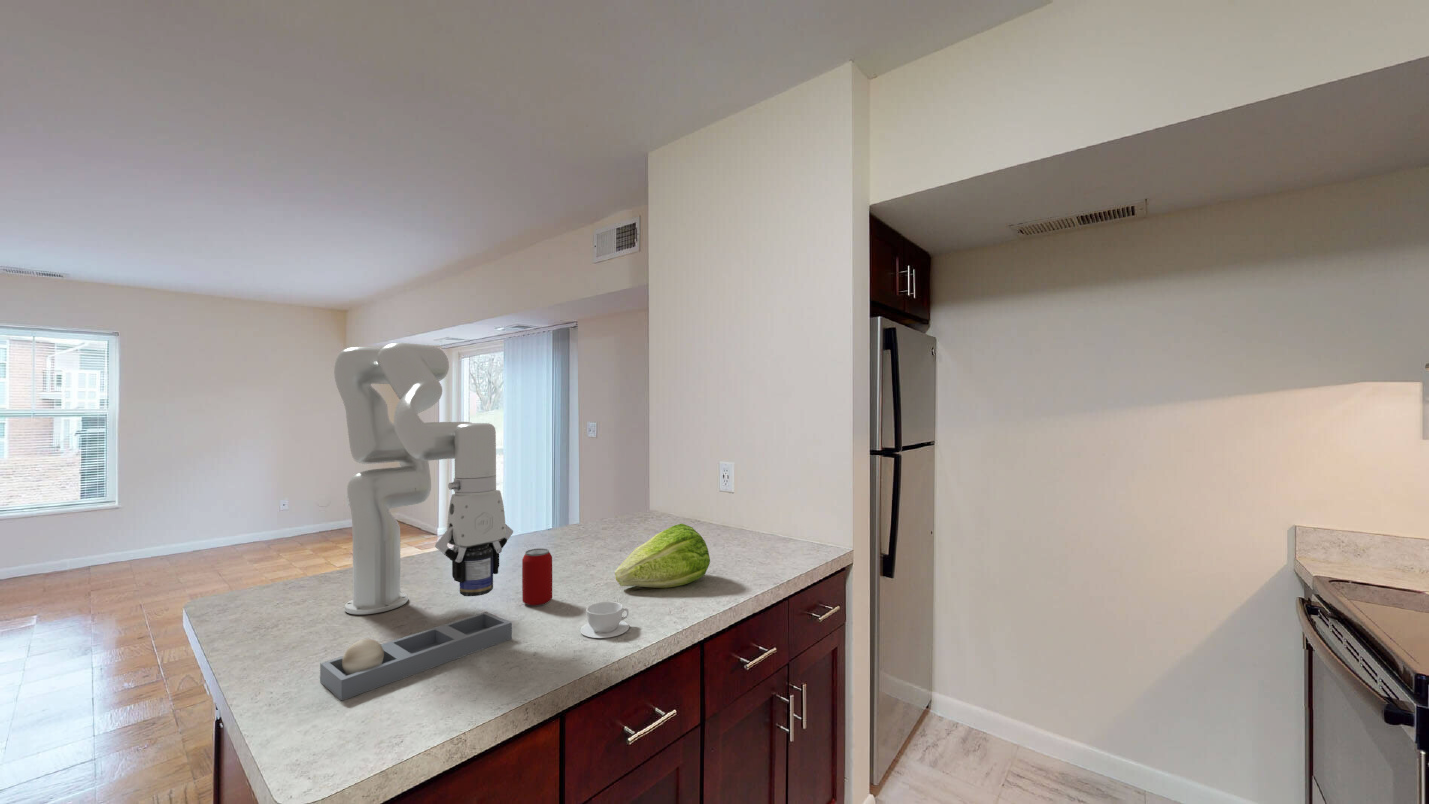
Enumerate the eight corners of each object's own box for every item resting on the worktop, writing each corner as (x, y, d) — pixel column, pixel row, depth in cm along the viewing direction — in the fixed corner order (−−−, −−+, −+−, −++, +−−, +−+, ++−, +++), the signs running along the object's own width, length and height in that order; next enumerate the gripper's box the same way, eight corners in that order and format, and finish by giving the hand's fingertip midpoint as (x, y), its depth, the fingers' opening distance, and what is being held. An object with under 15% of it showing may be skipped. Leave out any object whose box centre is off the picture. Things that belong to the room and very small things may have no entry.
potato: (336, 677, 94) (336, 641, 94) (375, 664, 99) (375, 630, 99) (350, 688, 90) (350, 651, 90) (390, 674, 95) (390, 639, 95)
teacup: (587, 644, 109) (587, 620, 109) (574, 626, 117) (574, 604, 118) (636, 634, 113) (636, 611, 113) (620, 617, 122) (620, 596, 122)
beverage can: (556, 597, 135) (556, 547, 135) (545, 607, 128) (545, 555, 128) (529, 597, 135) (529, 547, 135) (517, 607, 128) (517, 554, 129)
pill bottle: (466, 587, 113) (465, 532, 113) (497, 586, 114) (497, 532, 114) (454, 597, 107) (454, 540, 107) (487, 596, 107) (487, 539, 108)
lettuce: (637, 619, 133) (621, 606, 148) (723, 571, 143) (700, 563, 157) (613, 562, 133) (600, 555, 147) (701, 518, 143) (681, 515, 157)
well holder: (320, 682, 94) (320, 663, 94) (486, 626, 117) (486, 611, 117) (341, 700, 88) (341, 680, 88) (511, 638, 111) (511, 622, 111)
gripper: (441, 492, 101) (441, 592, 101) (525, 482, 115) (526, 570, 115) (422, 489, 106) (422, 584, 106) (505, 479, 120) (505, 564, 119)
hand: (476, 576), depth 110 cm, fingers closed on pill bottle, 6 cm apart
